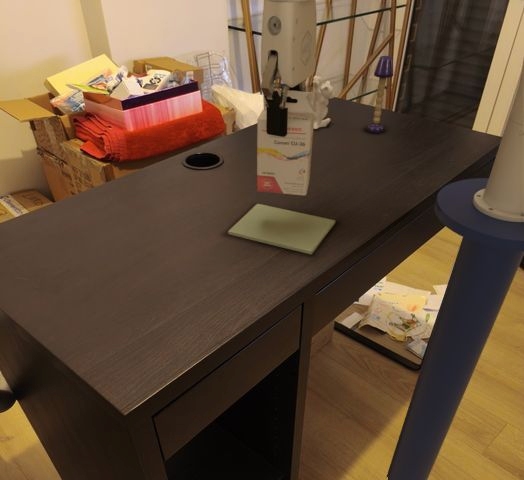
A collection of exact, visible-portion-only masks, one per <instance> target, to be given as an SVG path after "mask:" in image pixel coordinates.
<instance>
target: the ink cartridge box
mask: <svg viewBox="0 0 524 480" xmlns="http://www.w3.org/2000/svg"><path fill="white" fill-rule="evenodd" d="M275 91H278V93H279V95H280V96H281V89H275ZM262 96H263V97H262V98H263V101H262V102H263V109H262V110H261V112H260V114H259V116H258V117H257V120H256V121H257V125H256V126H257V127H256V191H257V192H261V193H263V192H264V193H272V194H273V193H274V194H284V195H293V196H294V195H295V196H307V193H308V189H309V185H310V177H311V167H312V165H311V164H312V151H313V140H314V129H313V127H314V116H315V114H314V113H313V109H314V97H315V95H314V93H313V91H306V92H303V91H291V90H288V93H287V97H288V96H289V97H291V98H292V99H297V100H298V102H297V103H286V106H285V108H288V121H287V135H286V136H285V137H280V136H274V135H269V134H267V107H266V105H265V102H266V100H265V97H264V94H263V93H262Z"/></svg>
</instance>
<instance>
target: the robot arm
mask: <svg viewBox="0 0 524 480" xmlns="http://www.w3.org/2000/svg"><path fill="white" fill-rule="evenodd" d="M262 8H263V11H262V22H261V23H262V24H261V40H260V76H261V83H260V90H261V92H262V95H263V94H264V97H265V100H266V102H265V105H266V107H267V134H269V135H274V136H280V137H285V136H286V135H287V121H288V108H285V106H286V103H297V102H298V100H297V99H292V98H291V97H289V96H288V97H287V93H288V90H291V91H303V92H307V84H306V82H307V80H308V78H310V77H311V76H312V75H314V73H315V70H316V66H317V65H316V64H317V63H316V61H317V26H318V23H317V0H264V1H263V7H262ZM277 80H281V81H282V83H281V82H275V81H277ZM275 90H281V96H280V95H279V93H278V91H275ZM488 178H489V179H488V182H487V185H486V188H485V189H482V190H480V191H478V192H476V194H475V195H474V198H473V204H474V206H475V207H476V209H477V210H479V211H480V212H482V213H483V214H485V215H487V216H490V217H492V218H496V219H499V220H503V221H509V222H524V58H523V60H522V66H521V73H520V79H519V83H518V87H517V91H516V94H515V97H514V101H513V104H512V107H511V110H510V113H509V117H508V119H507V122H506V124H505V128H504V131H503V134H502V137H501V140H500V143H499V146H498V149H497V152H496V155H495V159H494V162H493V164H492V167H491V171H490V174H489V176H488Z"/></svg>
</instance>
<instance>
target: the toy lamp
mask: <svg viewBox="0 0 524 480" xmlns="http://www.w3.org/2000/svg"><path fill="white" fill-rule="evenodd" d="M373 76H374V77H376V78H378V85H377V91H376V98H375V105H374V112H373V119H372V122H371V123H369V124H368V125H367V128H366V132H368V133H371V134H379V133H383V132H384V126H383V124H381V123H380V122H381V115H382V109H383V103H384V95H385V89H386V82H387V79H389V78H392V77H394V60H393V57H392V56H390V55H381V56H380V57H379V58H378V60H377V64H376V67H375V69H374V72H373Z"/></svg>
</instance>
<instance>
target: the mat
mask: <svg viewBox="0 0 524 480" xmlns="http://www.w3.org/2000/svg"><path fill="white" fill-rule="evenodd" d="M335 224H336V220H335V219H331V218H326V217H321V216H317V215H312V214H308V213H304V212H303V213H302V212H298V211H294V210H289V209H285V208H280V207H276V206H270V205H266V204H261V203H256V204H255V205H254V206H253V207H252V208H251V209H250V210H249V211H248V212H247V213H246V214H245V215H243V217H241V218H240V219H239V221H237V222H236V223H235V224H234V225H233V226H232V227H231V228H229V230H228V231H227V234H228V235H230V236H234V237H238V238H241V239H247V240H250V241H254V242H258V243H263V244H266V245H272V246H274V247H275V246H276V247H279V248H282V249H283V248H284V249H287V250H291V251H295V252H299V253H303V254H307V255H313V253H314V252H315V251H316V250H317V248H318V247H319V246H320V244H321V243H322V241H323V240H324V239H325V237H326V235H328V233H329V232H330V231H331V230H332V228H333V227H334V226H335Z"/></svg>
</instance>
